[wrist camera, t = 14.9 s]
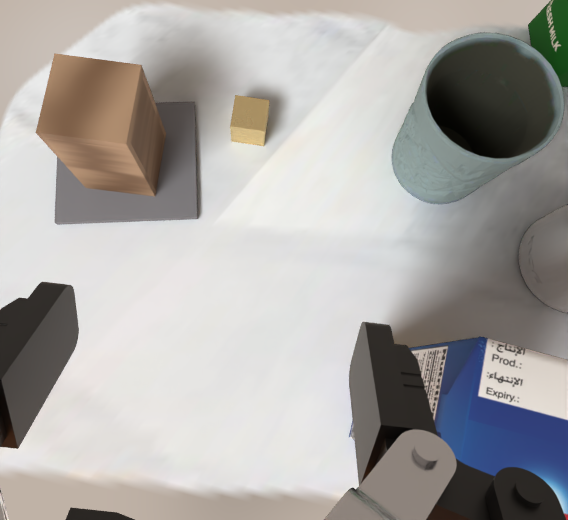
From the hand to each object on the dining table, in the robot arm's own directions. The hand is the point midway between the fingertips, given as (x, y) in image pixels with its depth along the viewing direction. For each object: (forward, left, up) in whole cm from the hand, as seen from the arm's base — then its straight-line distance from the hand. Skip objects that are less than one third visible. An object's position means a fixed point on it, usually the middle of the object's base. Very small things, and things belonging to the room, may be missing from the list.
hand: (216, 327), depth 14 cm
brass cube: (-2, -21, -29) cm, 36 cm away
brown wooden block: (+9, -18, -28) cm, 34 cm away
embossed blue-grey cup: (-19, -17, -29) cm, 38 cm away
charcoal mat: (+9, -18, -29) cm, 35 cm away
